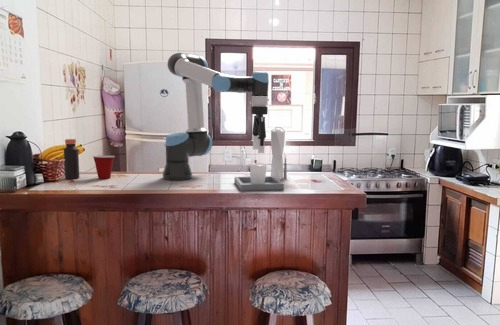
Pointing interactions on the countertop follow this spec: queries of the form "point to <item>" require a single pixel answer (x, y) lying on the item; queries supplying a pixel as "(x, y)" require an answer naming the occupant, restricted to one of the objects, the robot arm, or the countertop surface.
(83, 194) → the countertop surface
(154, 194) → the countertop surface
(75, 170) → the bottle
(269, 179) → the slate tray
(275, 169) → the skyscraper
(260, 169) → the white cup
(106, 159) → the plastic cup
